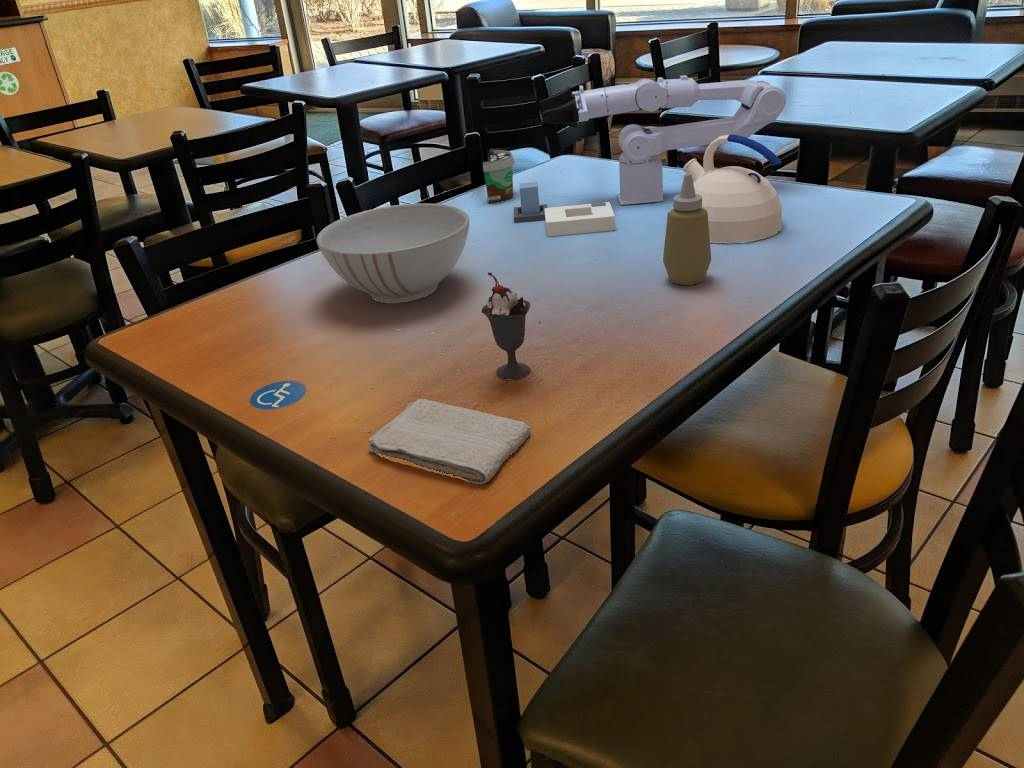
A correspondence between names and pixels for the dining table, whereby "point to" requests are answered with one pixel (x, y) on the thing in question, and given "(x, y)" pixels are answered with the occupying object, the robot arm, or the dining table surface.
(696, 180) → the kettle
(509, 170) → the food container
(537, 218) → the dark square tray
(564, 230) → the panel
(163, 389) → the dining table surface
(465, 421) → the washcloth
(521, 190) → the plug
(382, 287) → the decorative bowl
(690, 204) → the squeeze bottle
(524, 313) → the sundae
